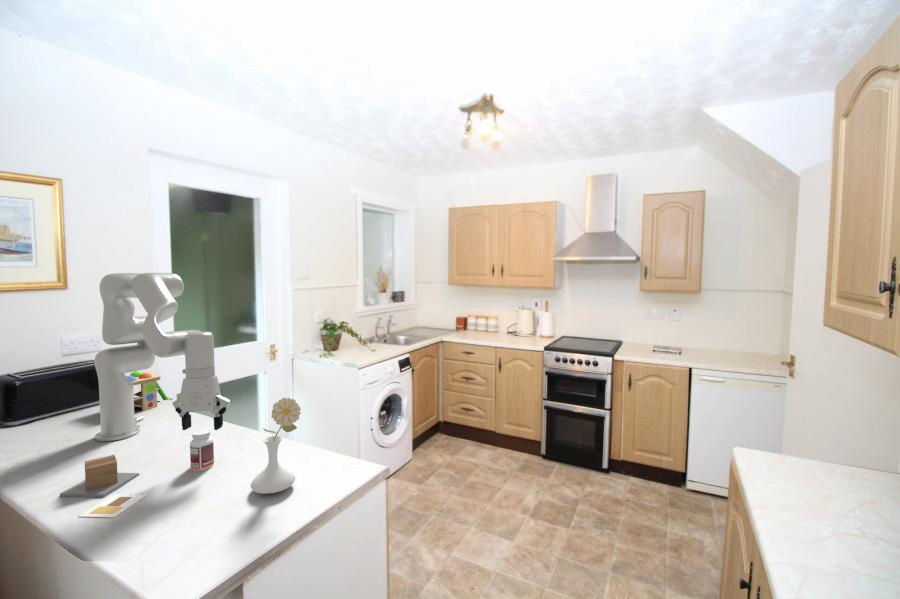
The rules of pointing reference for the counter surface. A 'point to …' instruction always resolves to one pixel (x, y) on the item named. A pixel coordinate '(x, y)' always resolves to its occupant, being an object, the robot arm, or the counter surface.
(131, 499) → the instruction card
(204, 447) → the pill bottle
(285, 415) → the flower in vase
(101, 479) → the walnut block
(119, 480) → the slate plate
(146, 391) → the pounding bench toy
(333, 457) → the counter surface
